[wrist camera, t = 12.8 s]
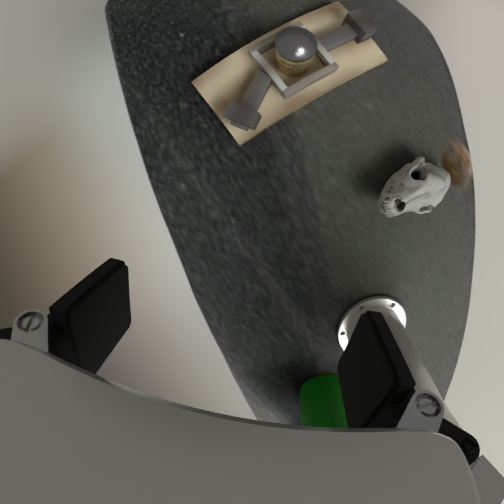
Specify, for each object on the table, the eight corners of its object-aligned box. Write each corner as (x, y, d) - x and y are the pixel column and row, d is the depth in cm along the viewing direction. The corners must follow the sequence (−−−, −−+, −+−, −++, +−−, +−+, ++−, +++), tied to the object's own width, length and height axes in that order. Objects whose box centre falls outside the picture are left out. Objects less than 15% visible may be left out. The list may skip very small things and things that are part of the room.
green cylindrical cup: (339, 402, 50) (349, 480, 32) (298, 405, 51) (299, 485, 33) (345, 372, 47) (362, 460, 28) (299, 375, 48) (302, 466, 29)
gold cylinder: (317, 66, 28) (326, 48, 21) (289, 83, 29) (292, 67, 22) (296, 42, 26) (299, 20, 20) (268, 58, 28) (265, 38, 21)
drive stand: (382, 63, 28) (399, 51, 22) (241, 145, 34) (234, 144, 29) (335, 6, 25) (343, -12, 19) (195, 85, 31) (181, 75, 26)
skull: (456, 200, 31) (439, 240, 25) (406, 199, 38) (376, 235, 33) (447, 148, 28) (430, 174, 23) (395, 152, 35) (362, 177, 30)
